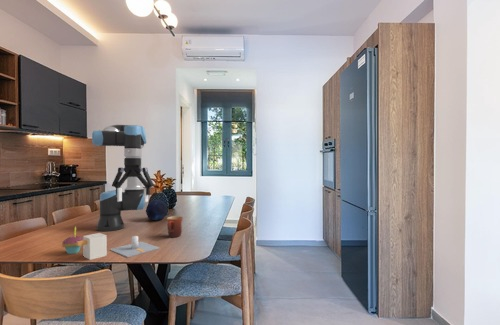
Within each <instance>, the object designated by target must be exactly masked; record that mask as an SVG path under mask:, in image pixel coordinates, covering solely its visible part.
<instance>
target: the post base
mask: <svg viewBox="0 0 500 325" xmlns="http://www.w3.org/2000/svg"><path fill="white" fill-rule="evenodd" d="M159 249H160V246H157V245H153V244H150V243H147V242H145V241H144V242H143V241H139V235H132V236H131V243H129V244H125V245H122V246H117V247H113V248H110V249H109V251H112V252H114V253H116V254H118V255H120V256H123V257H125V258H131V257H134V256H137V255H141V254H145V253H149V252H152V251H155V250H159Z"/></svg>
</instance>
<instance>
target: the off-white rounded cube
mask: <svg viewBox="0 0 500 325" xmlns="http://www.w3.org/2000/svg"><path fill="white" fill-rule="evenodd" d="M107 236H108V235H107V234H104V233H101V232H98V233H92V234H91V233H90V234H88V235H82V238H83V241H78V242H77V246H81V247H82V251H83V252H82V256H84V258H85V259H87V260H89V261H91V260H95V259H99V258H104V257H107V256H108V255H107V254H108V252H107V250H108V249H107V248H108V247H107V246H108V245H107V243H108V242H107V241H108V237H107Z"/></svg>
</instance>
